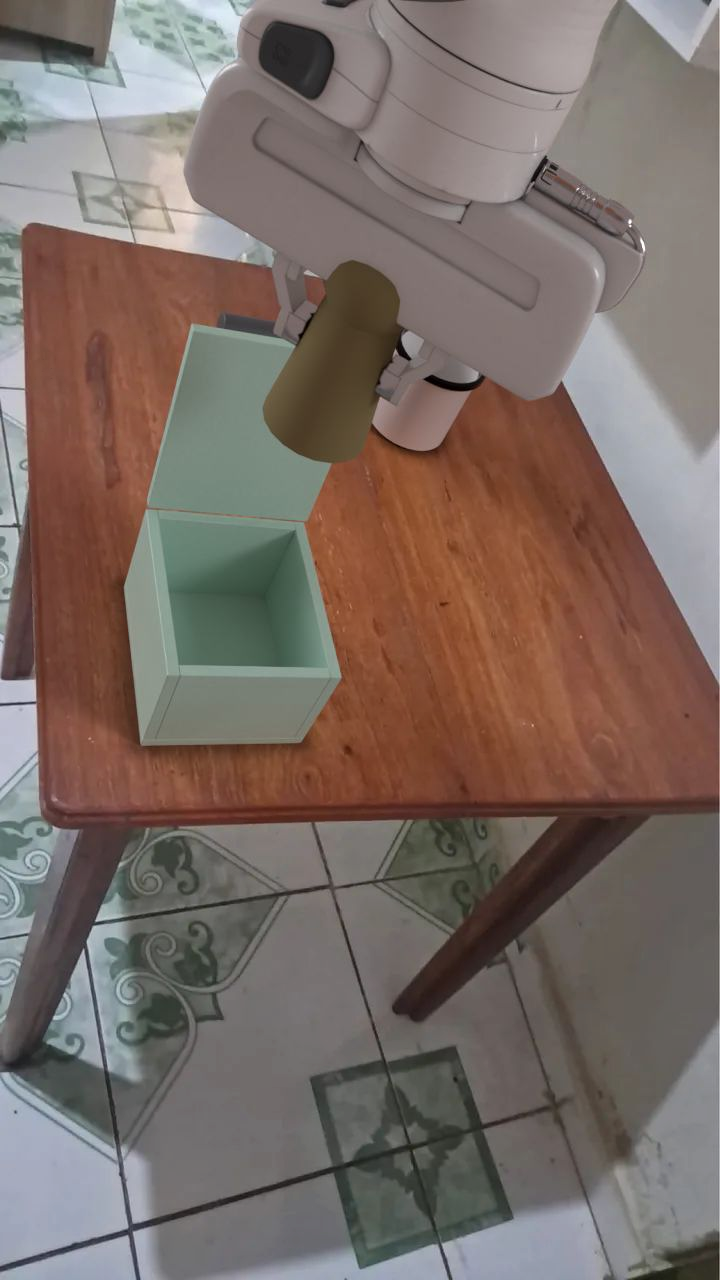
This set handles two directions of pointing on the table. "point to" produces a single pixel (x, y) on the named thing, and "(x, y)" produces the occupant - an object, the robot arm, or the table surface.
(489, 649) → the table surface
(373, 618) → the table surface
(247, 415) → the lid
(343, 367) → the brown pawn
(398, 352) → the mug
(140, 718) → the light green open box
